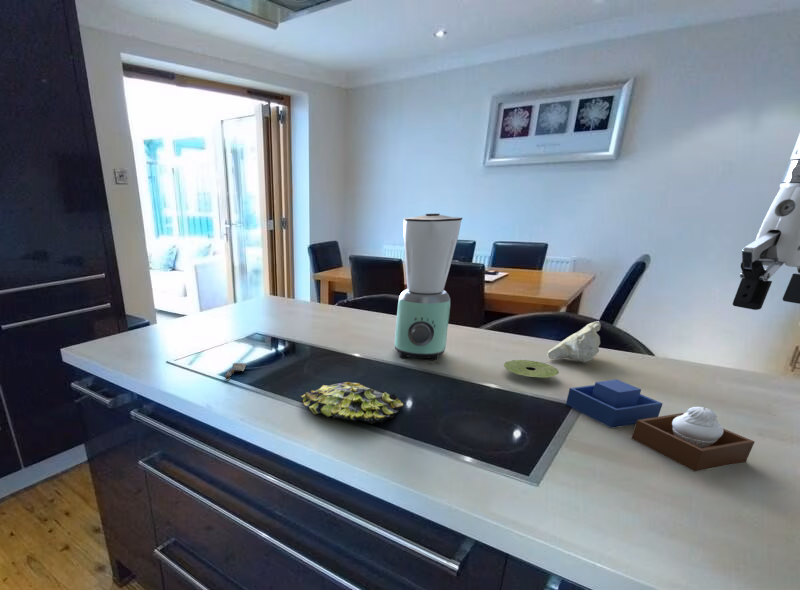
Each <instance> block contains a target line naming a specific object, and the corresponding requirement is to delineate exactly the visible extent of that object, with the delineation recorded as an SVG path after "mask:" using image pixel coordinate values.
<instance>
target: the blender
mask: <svg viewBox="0 0 800 590" xmlns="http://www.w3.org/2000/svg"><path fill="white" fill-rule="evenodd" d="M402 219H403V246H404V263H405V264H404V265H405V277H406V289H404V290H403V291H402V292H401V293H400V295H399V297H398V302H397V309H396V321H395V333H394V343H393V345H394V349H395V350H396V352H398V354H399V358H401V359H407V358H408V357H411V358H419V359H428V358H429V360H430V361H433V362H434V361H438V359H439V357H440V356H441V355H442V354H444V353H445V350H446V346H447V340H448V339H447V338H448V329H449V322H450V314H451V313H450V312H451V297H450V295H449V293H448V292H447V291H446V290H445V286H446V283H447V279H448V275H449V272H450V268H451V264H452V261H453V257H454V254H455V250H456V246H457V243H458V240H459V235H460V230H461V223H462V220H463V217H460V216H449V215H443V214H440V213H437V212H435V213H425V214H424V215H423V214H422V215H418V216H412V217H403V218H402Z"/></svg>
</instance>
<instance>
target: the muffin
mask: <svg viewBox="0 0 800 590" xmlns="http://www.w3.org/2000/svg"><path fill="white" fill-rule="evenodd" d="M683 413H684V414H683V415H681V416H678V417H676V418H674V419H673V421H672V426H673V428H672V430H673V433H674V436H676V437H678V438H680V439H682V440H684V441H686V442H689V443H691V444H693V445H695V446H697V447H699V448H701V449H702V448H707V447H708V446H710V445H711V444H713V443H714V442H716V441H717V439H719V438H720V437H721V436H722V435H723V432H724V431H723V429H724V427H722V425H721V424H720V423H719V421H718V420H717V419H718V415H717V413H716V412H715V411H714V410H712V409H710V408H706V407H703V406H693V407H690V408H688V409H687V410H686V412H683Z"/></svg>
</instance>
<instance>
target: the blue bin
mask: <svg viewBox="0 0 800 590" xmlns="http://www.w3.org/2000/svg"><path fill="white" fill-rule="evenodd" d="M594 386H595V384H591V385H584V386H583V385H582V386H575V387H570V388H568V389H569V390H568V394H567V398H566V402H565V405H566V406H567V407H570V408H572V409H574V410H575V411H577V412H579V413H581V414H583V415H585V416H587V417H588V418H590V419H592V420H595V421H597V422H598V423H600V424H602V425H604V426H606V427H608V428H610V429H615V428H621V427H627V426H633V425H636V422H637V420H641V419H647V418H654V417H660V416H659V415H660V413H661V410H662V407H663V402H660V401H658V400H656V399H653V398H651V397H649V396H645V395H643V394H642V393H640V395H639V398H638V402H637V405H636V406H630V407H623V408H617V409H616V408H614V407H612V406H610V405H608V404H606V403H603V402H601V401H599V400H597V399H595V398H593V397H592V393H593V389H594Z"/></svg>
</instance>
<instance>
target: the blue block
mask: <svg viewBox="0 0 800 590" xmlns="http://www.w3.org/2000/svg"><path fill="white" fill-rule="evenodd" d="M594 385H595V386H594V389H593V393H592V397H593V398H595V399H597V400H599V401H601V402H603V403H606V404H608V405H610V406H612V407H614V408H616V409H617V408H623V407H630V406H636V405H637V402H638V398H639V395H640V394H641V392H642V389H641V388H639V387H636V386H634V385H632V384H629V383H627V382H624V381H622V380H620V379H610V380H602V381H601V380H600V381H595V382H594Z"/></svg>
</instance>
